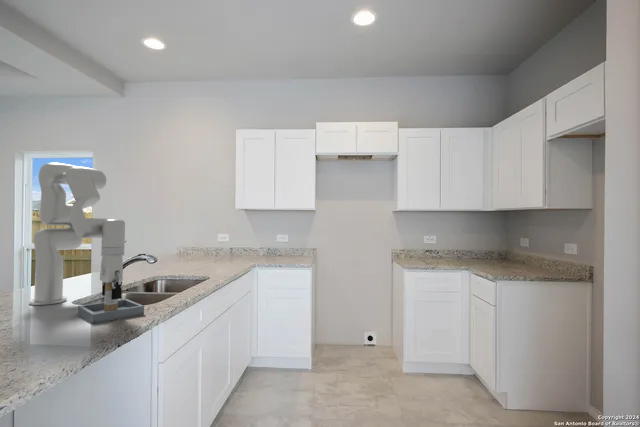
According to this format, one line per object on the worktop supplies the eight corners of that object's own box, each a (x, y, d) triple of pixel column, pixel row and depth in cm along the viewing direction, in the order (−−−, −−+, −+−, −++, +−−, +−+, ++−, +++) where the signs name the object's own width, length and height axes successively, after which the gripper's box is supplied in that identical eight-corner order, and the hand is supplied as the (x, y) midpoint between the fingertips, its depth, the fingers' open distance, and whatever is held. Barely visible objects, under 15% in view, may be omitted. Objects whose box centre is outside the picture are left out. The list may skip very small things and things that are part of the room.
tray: (77, 314, 129) (77, 306, 129) (126, 306, 142) (126, 298, 142) (92, 323, 118) (92, 314, 118) (143, 314, 131) (144, 305, 131)
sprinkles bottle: (107, 310, 132) (108, 275, 132) (120, 310, 132) (120, 275, 133) (101, 314, 127) (102, 277, 128) (114, 313, 128) (114, 277, 128)
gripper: (94, 250, 133) (92, 295, 133) (110, 253, 122) (108, 302, 122) (115, 249, 139) (113, 292, 139) (132, 252, 128) (131, 299, 127)
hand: (111, 296), depth 130 cm, fingers open, 9 cm apart
